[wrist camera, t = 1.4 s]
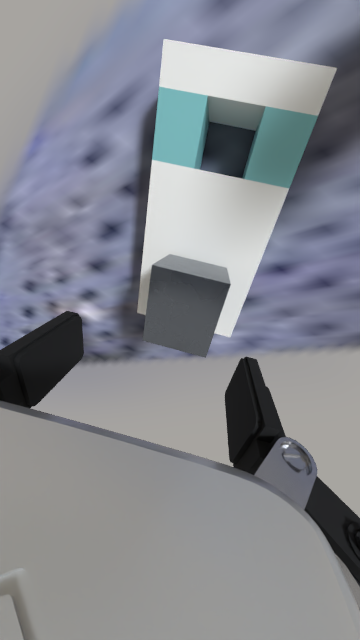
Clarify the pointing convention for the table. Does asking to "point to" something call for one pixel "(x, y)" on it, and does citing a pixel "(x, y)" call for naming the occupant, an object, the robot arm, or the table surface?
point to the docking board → (216, 189)
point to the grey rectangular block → (185, 303)
